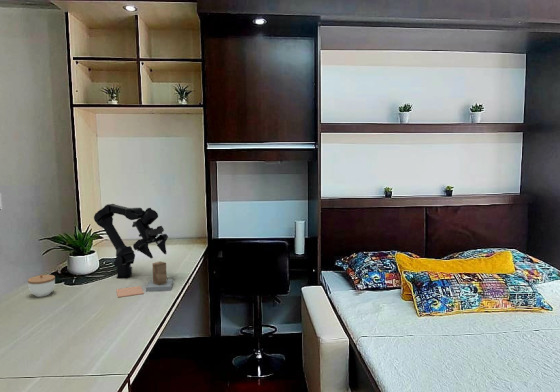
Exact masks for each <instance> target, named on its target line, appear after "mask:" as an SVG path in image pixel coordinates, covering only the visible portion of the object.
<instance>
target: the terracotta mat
mask: <svg viewBox="0 0 560 392" xmlns="http://www.w3.org/2000/svg"><path fill="white" fill-rule="evenodd" d="M144 293H145V292H144V290H143V289H142V286H141V285H138V286H131V287H124V288H116V295H117V298H124V297H125V298H126V297H132V296H138V295H144Z"/></svg>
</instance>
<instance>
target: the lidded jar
mask: <svg viewBox="0 0 560 392" xmlns="http://www.w3.org/2000/svg"><path fill="white" fill-rule="evenodd" d="M55 284H56V276H55V275H53V274H39V275H35V276H33V277H30V278H28V279H27V285H28V287H27V288H28V289H29V292H30V293H31V294H32V295H34V297H36V298H37V297H39V298H40V297H41V298H42V297H46V296H50V295H51V293H52V292H53V290H54V289H55Z"/></svg>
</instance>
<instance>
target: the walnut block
mask: <svg viewBox="0 0 560 392" xmlns="http://www.w3.org/2000/svg"><path fill="white" fill-rule="evenodd" d="M167 278H168V277H167V262H165V261H157V262H153V263H152V280H153V284H156V285H162V284H165V283H167V280H168V279H167Z"/></svg>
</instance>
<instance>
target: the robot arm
mask: <svg viewBox="0 0 560 392" xmlns="http://www.w3.org/2000/svg"><path fill="white" fill-rule="evenodd" d="M115 214H117V215H121V216H124V217H125V218H126V219H128V220H130V221H133V222H132V225H131V226H132V228H135V227H136V229H137V231H138V233H139V234H138V237H139V238H140V239H138V240H136V241H135V242H134V243H133V247H132V246H131V245H128V246H127V245H126V244H125V242H124V241H123V239H122V237H121V236H120V233H119V232H118V230H117V229H116V228H115V225H114V224H113V221H114V216H115ZM158 218H159V214H158V211H156V210H154V209H152V207H148V208H146V209H145V210H143V208H141V207H126V206H122V205H119V204H115V203H108V204H105V205H104V207H101V208H100V209H99V210H98V211H97V212H95V214H94V216H93V219H94V222H95V223H96V224H97V225H98V226H99V227H100V228H102V229H103V230H104V232H105V234H106V235H107V236H108V238H109V240H110V242H111V243H112V246H113V247H114V249H115V257H116V259H115V260H114V261H113V266H114V267H115V268H116V269H117V274H116V275H117V276H116V279H128V278H131V276H132V275H133V266H132V265H133V264H134V262H135V259H136V254H135V251H137V252H140V253H142V254H144V255H145V256H147V257H148V258H150V259H153V258H154V257H153V254H152V253H151V250H150V248H149V245H150V244H154V243H155V244H157V245H156V246H157V247H158V249H160V251H161V252H162V253H163V254H164V255H167V247H166V242H167V240H168V239H169V236H168V235H167V233H163V232H164V231H165V229H164V227H163V226H162V225H158V226H157V227H156V228H153V227H150V225H152V223H154V222H156V220H157V219H158ZM135 220H136V221H135Z"/></svg>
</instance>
